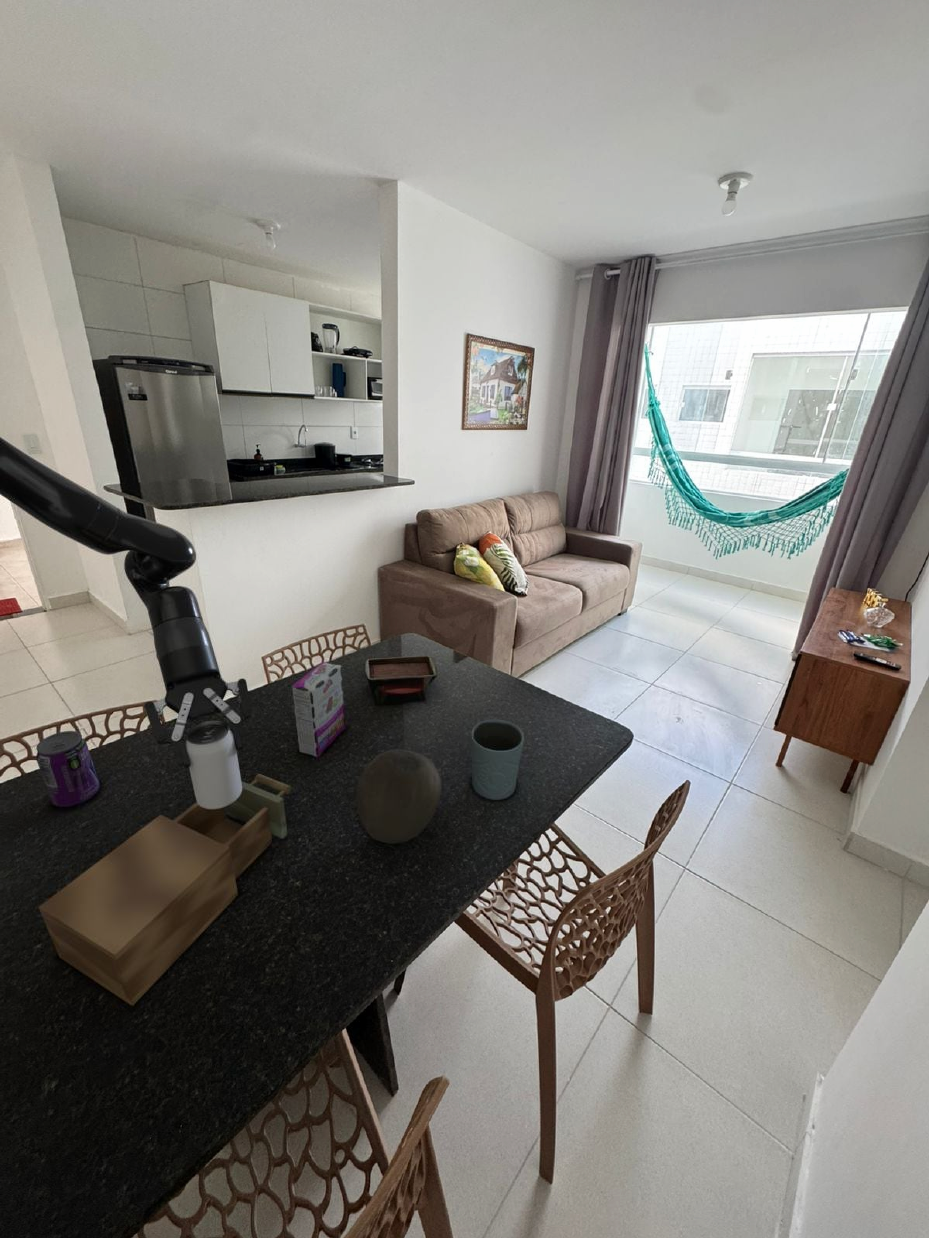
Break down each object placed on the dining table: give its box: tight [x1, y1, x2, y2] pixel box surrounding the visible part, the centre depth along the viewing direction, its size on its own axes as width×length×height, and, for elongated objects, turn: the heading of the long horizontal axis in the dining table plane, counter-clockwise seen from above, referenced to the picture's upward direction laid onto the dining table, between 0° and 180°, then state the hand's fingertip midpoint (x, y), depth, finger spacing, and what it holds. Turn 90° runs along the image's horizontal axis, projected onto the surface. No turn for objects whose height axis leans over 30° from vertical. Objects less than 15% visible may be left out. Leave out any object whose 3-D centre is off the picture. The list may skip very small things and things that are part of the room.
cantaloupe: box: [355, 748, 443, 845], centre depth 87 cm, size 14×14×15 cm
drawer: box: [172, 773, 292, 881], centre depth 82 cm, size 20×13×8 cm, turn 157°
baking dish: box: [363, 654, 438, 706], centre depth 129 cm, size 14×18×10 cm
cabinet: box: [38, 814, 239, 1007], centre depth 70 cm, size 17×14×10 cm
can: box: [185, 720, 242, 810], centre depth 76 cm, size 6×6×12 cm
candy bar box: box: [291, 661, 347, 758], centre depth 108 cm, size 11×5×16 cm, turn 161°
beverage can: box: [35, 730, 100, 808], centre depth 90 cm, size 7×7×12 cm
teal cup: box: [470, 719, 525, 801], centre depth 99 cm, size 10×10×12 cm
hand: (214, 758), depth 74 cm, fingers closed on can, 6 cm apart
